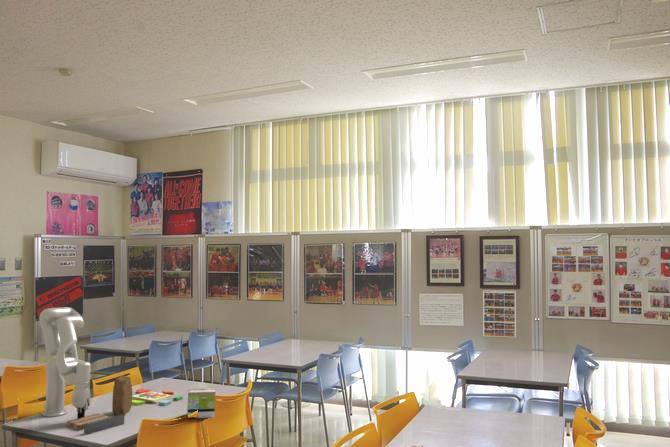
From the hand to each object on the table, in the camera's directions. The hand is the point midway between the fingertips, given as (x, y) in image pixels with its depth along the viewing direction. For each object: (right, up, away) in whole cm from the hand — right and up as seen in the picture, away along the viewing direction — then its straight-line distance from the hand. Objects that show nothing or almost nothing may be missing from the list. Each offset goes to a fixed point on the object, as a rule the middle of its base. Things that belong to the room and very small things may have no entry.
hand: (80, 419), depth 295 cm
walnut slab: (+6, -2, -4) cm, 8 cm away
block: (+15, -3, +19) cm, 24 cm away
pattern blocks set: (+22, -6, +50) cm, 55 cm away
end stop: (+18, -1, -11) cm, 21 cm away
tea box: (+62, -4, +14) cm, 64 cm away
